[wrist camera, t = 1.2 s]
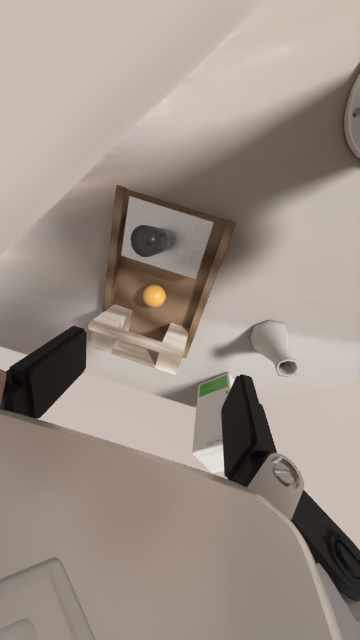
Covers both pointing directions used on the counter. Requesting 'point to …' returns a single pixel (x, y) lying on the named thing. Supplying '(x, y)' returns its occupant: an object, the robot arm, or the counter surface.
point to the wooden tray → (181, 293)
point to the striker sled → (165, 237)
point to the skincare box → (211, 422)
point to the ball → (154, 296)
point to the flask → (274, 346)
